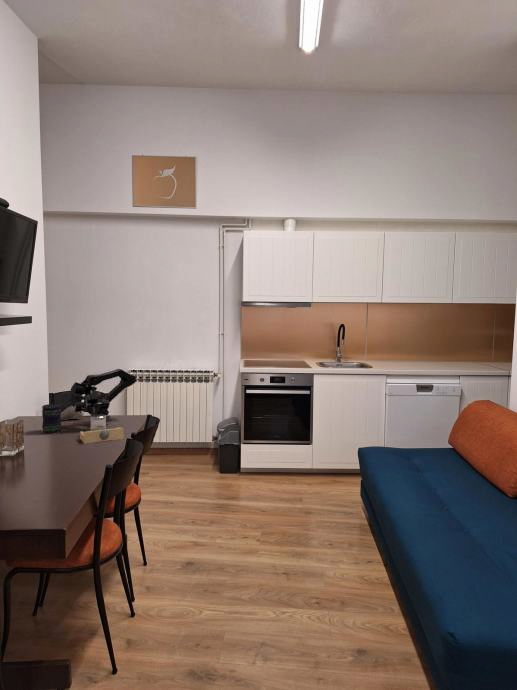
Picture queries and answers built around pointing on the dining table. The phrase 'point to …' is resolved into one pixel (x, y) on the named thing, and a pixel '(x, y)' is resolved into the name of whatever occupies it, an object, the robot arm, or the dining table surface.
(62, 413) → the pipe
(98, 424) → the door knob
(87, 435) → the tan wooden u-frame
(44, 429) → the storage jar
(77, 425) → the dining table surface
